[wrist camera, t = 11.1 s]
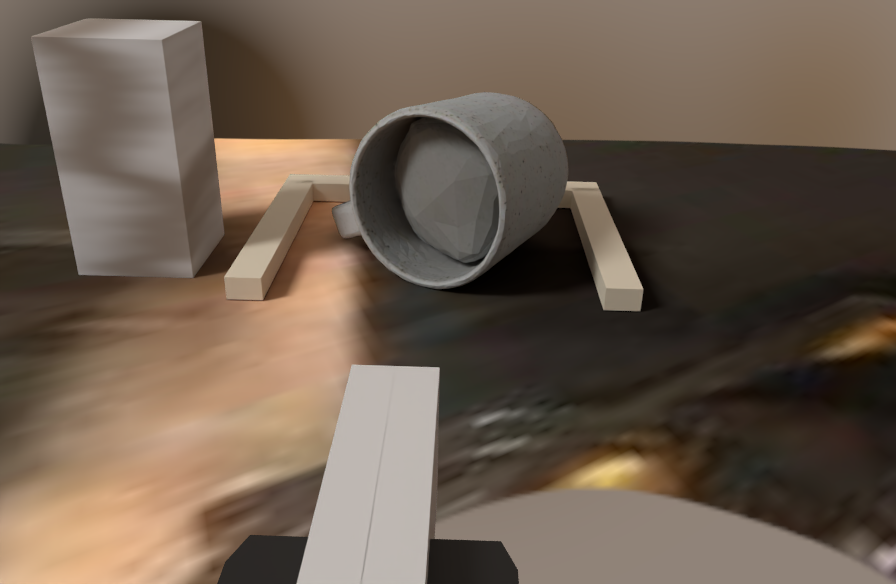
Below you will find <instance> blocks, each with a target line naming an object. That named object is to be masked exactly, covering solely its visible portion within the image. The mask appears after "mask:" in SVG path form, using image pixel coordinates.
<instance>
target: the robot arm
mask: <svg viewBox="0 0 896 584" xmlns="http://www.w3.org/2000/svg"><path fill="white" fill-rule="evenodd" d="M438 419H439V368H438V367H406V366H374V365H352V367H351V371H350V375H349V378H348V382H347V386H346V390H345V394H344V398H343V402H342V406H341V410H340V414H339V418H338V422H337V426H336V430H335V434H334V438H333V442H332V446H331V450H330V454H329V457H328V461H327V465H326V469H325V473H324V477H323V481H322V485H321V489H320V493H319V497H318V501H317V505H316V509H315V513H314V517H313V521H312V525H311V529H310V533H309V536H308V537H292V536H263V535H250V536H249V537H248V538H247V539H246V540H245V541H244V542H243V543H242V544H241V545H240V547H239V548H238V549H237V550H236V551H235V552H234V553H233V554H232V555H231V556H230V557H229V559H228V560H227V561H226V562H225V564H224V567H223V570H222V572H221V575H220V578H219V581H218V583H217V584H519V581H518V569H517V568H516V566H515V564H514V563H513V561H512V559H511V558H510V556H509V554H508V552H507V551H506V549H505V547H504V546H503V544H502V542H501V541H474V540H472V541H471V540H445V539H444V540H443V539H435V537H434V536H435V521H436V503H437V471H438Z"/></svg>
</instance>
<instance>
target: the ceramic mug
mask: <svg viewBox="0 0 896 584" xmlns="http://www.w3.org/2000/svg"><path fill="white" fill-rule="evenodd" d="M567 178H568V160H567V154H566V150H565V147H564V144H563V141H562V139H561V137H560V135H559V134H558V131H557V130H556V128H555V126H554V124H553V123H552V121H551V120H550V119H549V118H548V117H547V116H546V115H545V114H544V113H543V112H542V111H541V110H540V109H538V108H537V107H535V106H534V105H533V104H531V103H530V102H528V101H525V100H523V99H520V98H518V97H514V96H510V95H505V94H500V93H486V92H484V93H475V94H471V95H466V96H463V97H459V98H455V99H449V100H443V101H438V102H433V103H428V104H423V105H417V106H412V107H407V108H403V109H400V110H398V111H396V112H393V113H391V114H389V115H388V116H386V117H385V118H384V119H382V120H380V121H379V122H378V123H377V124H376V125H375V126H374V127H373V128H372V129H371V130H370V131H369V132H368V133H367V134H366V136H365V137H364V138H363V140H362V141H361V143H360V145H359V148H358V150H357V152H356V154H355V157H354V159H353V162H352V166H351V170H350V184H349V190H350V200H349V201H347V202H345V203H342V204H340V205H338V206H335V207H333V208H332V214H333V217H334V220H335V223H336V226H337V228H338V231H339V234H340V235H341V237H342V238H352V237H355V236H361V235H362V238H363V239H364V241H365V243H366V244H367V246H368V247H369V249H370V250H371V252H372V253H373V254H374V255H375V256H376V258H377V259H378V260H379V261H380V262H381V263H382V264H383V265H384V266H385V267H386V268H387V269H388V270H390V271H392V272H393V273H395V274H396V275H398V276H399V277H401V278H402V279H404V280H406V281H409V282H411V283H413V284H416V285H419V286H423V287H428V288H433V289H449V288H454V287H459V286H463V285H465V284H467V283H470V282H472V281H474V280H475V279H476V278H478V277H479V276H481V275H482V274H484V273H485V272H486V271H488V270H489V269H490V268H491V267H492V266H494V265H495V264H496V263H498V262H499V261H500V260H502V259H503V258H504V257H506V256H507V255H508V254H510V253H511V252H512V251H513V250H515V249H516V248H517V247H518V246H519V245H521V244H522V243H524V242H525V241H526V240H528V239H529V238H530V237H532V236H533V235H534V234H536V233H537V232H538V231H539V230H540V229H541V228H543V227H544V226H545V225H546V224H547V223H548V221H549V220H550V218H551V217H552V216H553V214H554V213H555V211H556V209H557V208H558V206H559V204H560V202H561V200H562V198H563V196H564V193H565V189H566V185H567Z"/></svg>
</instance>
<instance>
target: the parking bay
mask: <svg viewBox="0 0 896 584" xmlns="http://www.w3.org/2000/svg"><path fill="white" fill-rule="evenodd" d="M349 184H350V176H345V175H309V174H290V175H289V177H288V178H287V180H286V181H285V183H284V184H283V186H282V188H281V189H280V191H279V192H278V194H277V195H276V197H275V198H274V200H273V202H272V203H271V205H270V206H269V208H268V209H267V211H266V213H265V214H264V216H263V217H262V219H261V220H260V222H259V223H258V225H257V227H256V228H255V230H254V231H253V233H252V234H251V236H250V238H249V239H248V241H247V242H246V244H245V245H244V247H243V249H242V250H241V252H240V253H239V255H238V256H237V258H236V259H235V261H234V263H233V264H232V266H231V267H230V269H229V270H228V272H227V274H226V275H225V277H224V280H225V289H226V298H227V299H238V300H263V299H264V297H265V295H266V293H267V291H268V289H269V287H270V285H271V283H272V281H273V279H274V277H275V275H276V273H277V272H278V270H279V268H280V266H281V264H282V262H283V260H284V258H285V256H286V254H287V252H288V250H289V248H290V246H291V244H292V242H293V240H294V238H295V236H296V234H297V232H298V230H299V228H300V226H301V224H302V222H303V220H304V218H305V216H306V214H307V212H308V210H309V209H310V207H311V205H312V203H313V201H334V202H347V201H349V200H350V190H349ZM558 208H571V211H572V214H573V217H574V220H575V223H576V227H577V230H578V233H579V236H580V239H581V242H582V245H583V248H584V251H585V254H586V257H587V260H588V263H589V267H590V270H591V273H592V276H593V279H594V282H595V285H596V288H597V291H598V294H599V297H600V300H601V304H602V307H603V310H615V311H640V310H641V303H642V296H643V287H642V285H641V283H640V280H639V278H638V276H637V273H636V271H635V269H634V267H633V264H632V262H631V260H630V258H629V255H628V253H627V251H626V249H625V246H624V244H623V242H622V240H621V237H620V235H619V233H618V231H617V228H616V226H615V224H614V222H613V219H612V217H611V215H610V213H609V210H608V208H607V206H606V204H605V201H604V199H603V197H602V194H601V192H600V190H599V188H598V185H597V183H596V182H567V185H566V189H565V193H564V196H563V198H562V200H561V202H560V204H559V206H558Z"/></svg>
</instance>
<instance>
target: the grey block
mask: <svg viewBox="0 0 896 584" xmlns="http://www.w3.org/2000/svg"><path fill="white" fill-rule="evenodd" d="M31 40H32V44H33V49H34V54H35V59H36V64H37V69H38V74H39V79H40V84H41V89H42V94H43V99H44V104H45V109H46V114H47V119H48V124H49V129H50V134H51V139H52V144H53V149H54V154H55V159H56V164H57V169H58V174H59V179H60V184H61V189H62V194H63V198H64V203H65V208H66V213H67V218H68V223H69V228H70V233H71V238H72V243H73V248H74V253H75V258H76V263H77V268H78V273H79V275H105V276H140V277H175V278H194V276H195V275H196V273H197V272H198V271H199V269H200V268H201V267H202V265H203V264H204V262H205V261H206V260H207V258H208V257H209V255H210V254H211V253H212V251H213V250H214V248H215V247H216V246H217V244H218V243H219V242H220V240H221V239H222V237H223V236H224V235H225V234H224V225H223V216H222V207H221V198H220V189H219V180H218V171H217V162H216V153H215V143H214V134H213V126H212V116H211V107H210V98H209V90H208V81H207V71H206V62H205V53H204V44H203V35H202V26H201V21H168V20H166V21H165V20H127V19H84V20H81V21H78V22H74V23H71V24H68V25H65V26H62V27H59V28H56V29H53V30H50V31H47V32H44V33H41V34H37V35H34V36H31Z"/></svg>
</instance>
